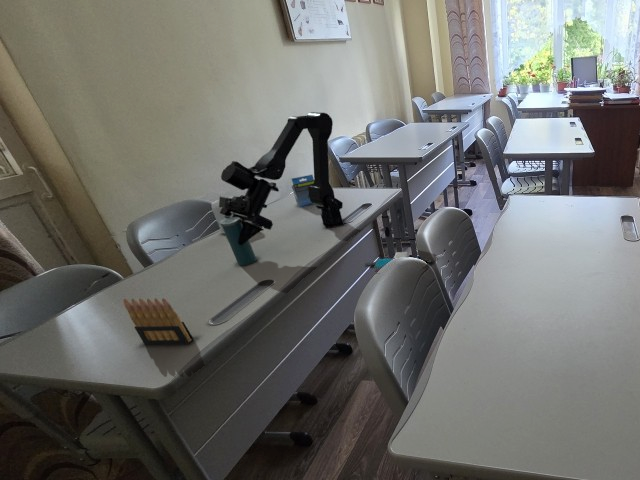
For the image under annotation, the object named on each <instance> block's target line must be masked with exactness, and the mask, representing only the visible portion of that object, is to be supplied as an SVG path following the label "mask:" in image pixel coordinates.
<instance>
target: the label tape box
mask: <svg viewBox="0 0 640 480" xmlns="http://www.w3.org/2000/svg"><path fill="white" fill-rule="evenodd" d="M290 179H291V181H292V185H291V189H292V193H293V195H294V199H295V202H296V205H297V206H298V207H300V208H301V207H305V206H308V205H314V204H313V203H312V202H311V201H310V198H309V197H308V195H309V191H308V186H312V185H313V183H314V174H308V175H303V176H298V177H293V178H290Z"/></svg>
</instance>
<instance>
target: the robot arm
mask: <svg viewBox="0 0 640 480" xmlns="http://www.w3.org/2000/svg"><path fill="white" fill-rule="evenodd" d="M333 123H334V121H333V119H332V117H331V116H330V114H328V113H327V112H320V111H319V112H316V111H311V112H309V113H308V114H307V115H299V116H295V115H294V116H290V117H288V119H287V123H286V124H285V126H284V127H283V128H282V130H281V132H280V134H279V135H278V137H277V139H276V140H275V142H274V144H273V145H272V147H271V149H270V150H269V151H268V152H266V153H264V154H263V155H262V156H261V157H260V158H259V159H258V160H257V162H255V164H254V165H253V166H250V167H246V166H244V165H243V164H241V163H240V162H239V161H235V160H232V161H231V163H230V164H228V165H226V167H225V168H224V169H223V170H222V172H221V175H220V179H221V181H223V182H224V183H226V184H229V185H231V186H233V187H235V189H236V188H237V189H239V190H241V191H245V190H246V192H245V194H244V195H243V194H241V195H239V196H236V195H233V196H232V197H233V198H228V197H229V196H227V197H226V196H219V199H218V200H219V207H223V208H222V209H221V211H220V214H223V215H225V218H226V219H227V218H232V217H240V218H241V223H242V225H243V229H242V232H241V234H240V237H239V241H238V244H239V245H243V244H244V243H245V242H247V241H248V240H249V241H250V239H252V238H254V236H256V235H257V234H259V233H260V232H262V231H263V232H264V229H266V230H268V231H271V230H272V228H273V225H274V224H273V221H272V220H271V219H270V218H267V217H265V216H263V215H261V213H262V211H263V209H267V208H268V205H267V204H266V202H267V200H268V198H269V196H270V194H271V191H272V192H278V193H279V192H280V190H279V187H278V185H277V183H276V182H272V181H278V180H280V179H281V178H282V177H283V175H284V172H285V169H286V160H287V158H288V156H289V154H290V153H291V151H292V149H293V147H294V146H295V144H296V143H297V141H298V139H299V138H300V136H301V134H302V133H303V131H304V130H307V132H308V134H309V135H310V138H311V140H312V160H313V161H312V162H313V178H314V183H313V185H312V186H308V191H309V195H308V197H309V198H310V201H311V202H312V203H313V204H312V205H314V206H315V207H316V208H317V210H320V211H321V212H320V219H321V221H322V224H323V226H325V229H329V228H335V227H339V226H344V225H345V223H344V220H343V217H342V213H341V210H342V209H343V206H344V205H343V201H341V200H339V199H338V198H336V197H335V191H334V189H333V187H332V185H331V183H330V165H329V139H330V137H331V135H332V133H333ZM259 178H260V179H259ZM269 180H270V181H271V182H269ZM245 220H246V221H247V222H246V221H245Z"/></svg>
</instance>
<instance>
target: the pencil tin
mask: <svg viewBox="0 0 640 480" xmlns="http://www.w3.org/2000/svg"><path fill="white" fill-rule="evenodd" d="M220 224H221V226H222V228H223V230H224V232H225V234H224V235H225V237H226V239H227V242H228V244H229V246H230V248H231V251H232V254H233V256H234V258H235V260H236V262H237V264H238V265H239V266H248V265H251V264H254V263H255V262H256V261H257V257H256V254H255V252H254V250H253V247H252V244H251V242H250V239H249V240H248V241H247V242H245V243H244V244H243V245H239V244H238V241H239V237H240V234H241V232H242V229H243V225H242V223H241V218H240V217H232V218H227V219H224V220H222V221H221V222H220Z"/></svg>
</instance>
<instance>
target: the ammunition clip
mask: <svg viewBox="0 0 640 480" xmlns="http://www.w3.org/2000/svg"><path fill="white" fill-rule="evenodd" d="M153 300H154V302H153V301H152V300H151V298H146V301H145V300H143V298H139V299H138V301H137V300H135V299H134V298H131V300H130V301H131V302H130V301H129V300H128V299H126V298H123V304H124V308H125V309H126V311H127V313H128V315H129V318H130V319H131V322H132V323H133V325H134V329H135V331H136V333H137V334H138V336H139V338H140V340H141V341H142V343H143V345H144V346H166V345H167V346H169V345H171V346H174V345H175V346H176V345H184V346H185V345H189V344H190V343H191V342H192V341H194V337H193V335H192V333H191V332H190V330H189V328H188V327H187V325H186V324H185V322H184V321H182V320H181V319H180V317H179V315H178V313H177V312H176V311H175V310H174V308H173V306H172V304H170V303H169V301H168V300H166V299H165V298H164V297H162V298H161V300H159V299H158V298H156V297H154V299H153Z"/></svg>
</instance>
